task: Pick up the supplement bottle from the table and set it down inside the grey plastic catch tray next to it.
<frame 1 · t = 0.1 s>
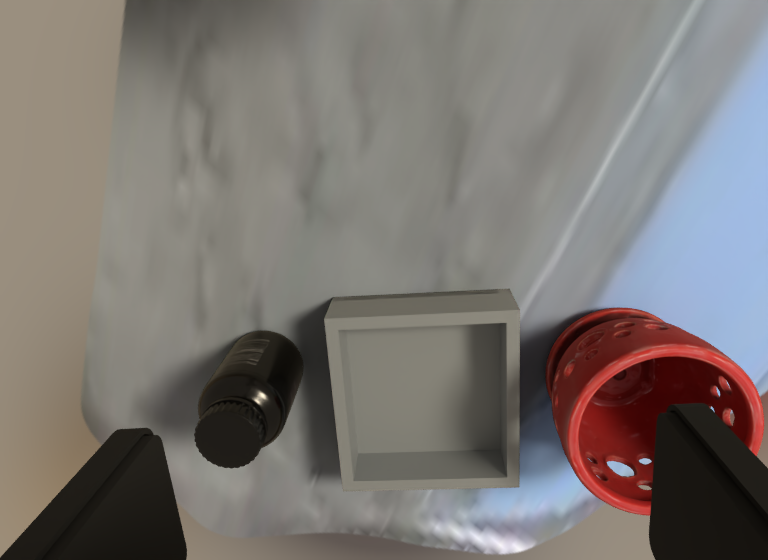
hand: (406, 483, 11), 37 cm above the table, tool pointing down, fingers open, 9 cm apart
plant pot: (607, 359, 49), on the table
catch tray: (424, 377, 51), on the table
supplement bottle: (268, 362, 51), on the table
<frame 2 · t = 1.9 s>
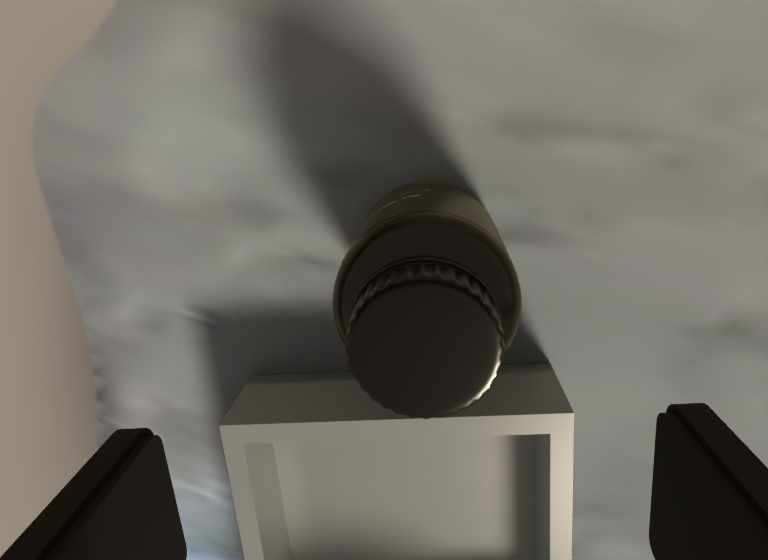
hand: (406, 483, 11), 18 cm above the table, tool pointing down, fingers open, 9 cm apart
catch tray: (406, 488, 32), on the table
supplement bottle: (426, 247, 28), on the table
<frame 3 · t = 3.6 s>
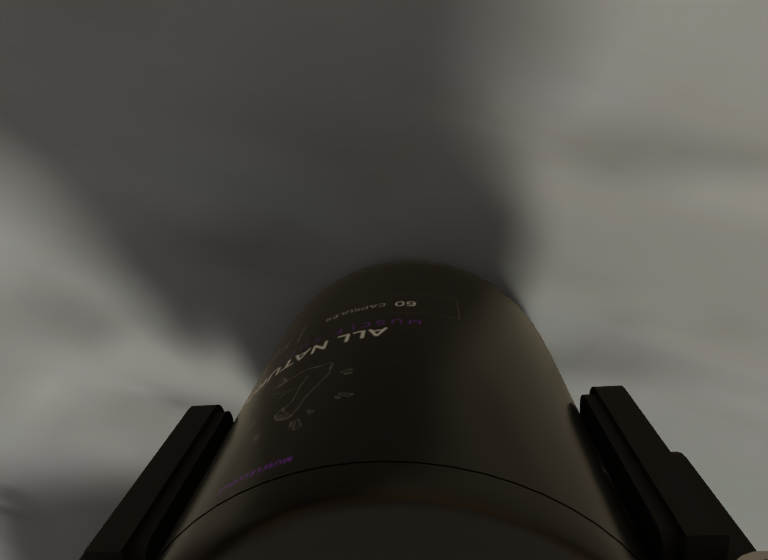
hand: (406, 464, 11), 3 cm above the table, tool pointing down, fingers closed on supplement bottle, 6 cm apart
supplement bottle: (409, 381, 15), on the table, touching gripper
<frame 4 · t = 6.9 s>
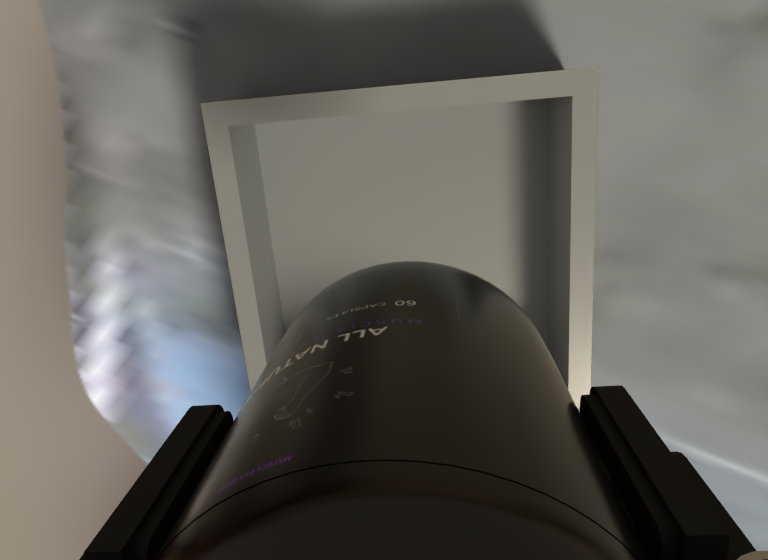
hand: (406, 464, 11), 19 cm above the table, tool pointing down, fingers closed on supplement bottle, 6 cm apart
catch tray: (408, 238, 30), on the table
supplement bottle: (409, 380, 15), point 16 cm above the table, touching gripper
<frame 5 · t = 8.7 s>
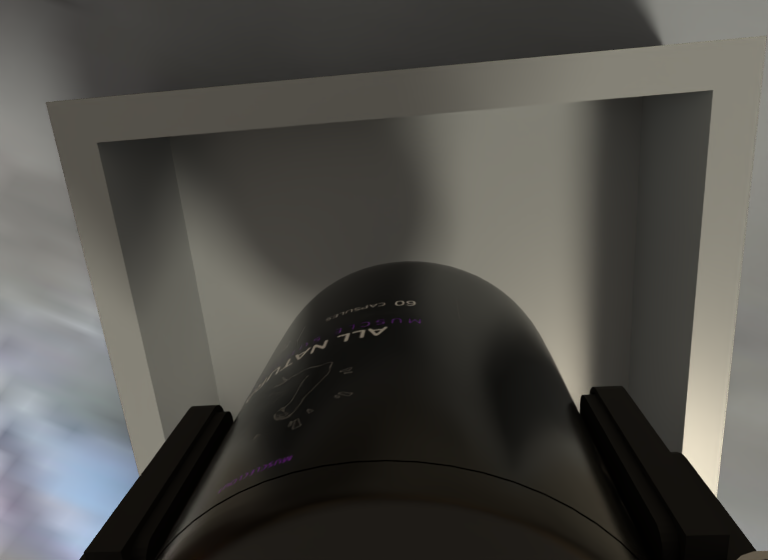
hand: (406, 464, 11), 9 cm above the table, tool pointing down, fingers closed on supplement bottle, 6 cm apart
catch tray: (413, 308, 20), on the table
supplement bottle: (409, 380, 15), point 5 cm above the table, touching gripper
when the fingers open (7 cm above the table, at t = 10.2 s): supplement bottle drops 2 cm, resting on catch tray.
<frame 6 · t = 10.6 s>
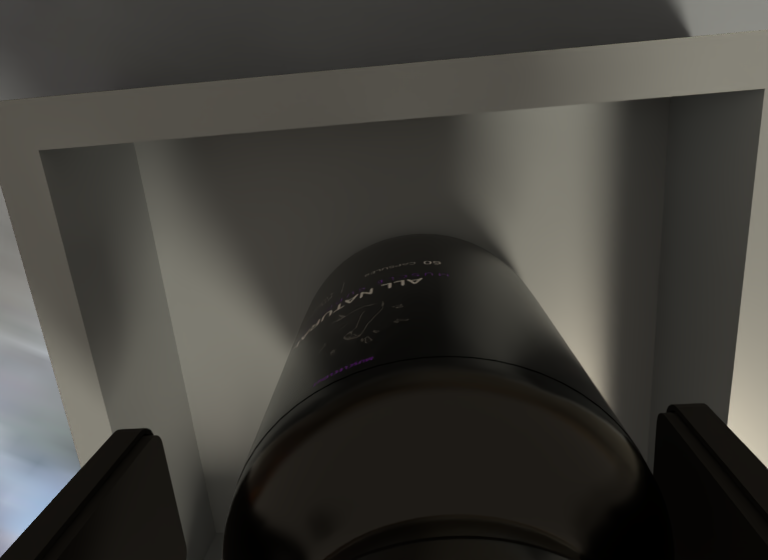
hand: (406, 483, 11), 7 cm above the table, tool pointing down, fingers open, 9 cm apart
catch tray: (410, 331, 18), on the table
supplement bottle: (418, 340, 17), point 1 cm above the table, touching catch tray
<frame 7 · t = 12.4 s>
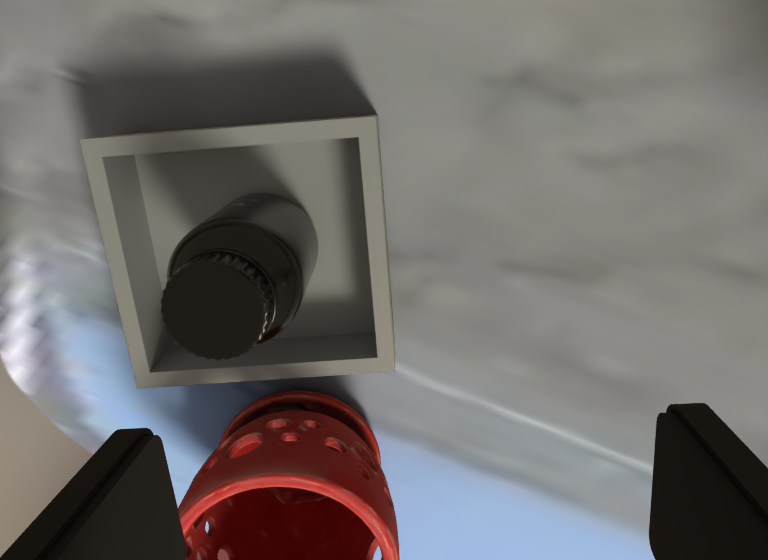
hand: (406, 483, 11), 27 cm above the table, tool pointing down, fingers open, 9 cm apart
plant pot: (308, 448, 42), on the table
catch tray: (265, 242, 37), on the table
supplement bottle: (266, 243, 36), point 1 cm above the table, touching catch tray
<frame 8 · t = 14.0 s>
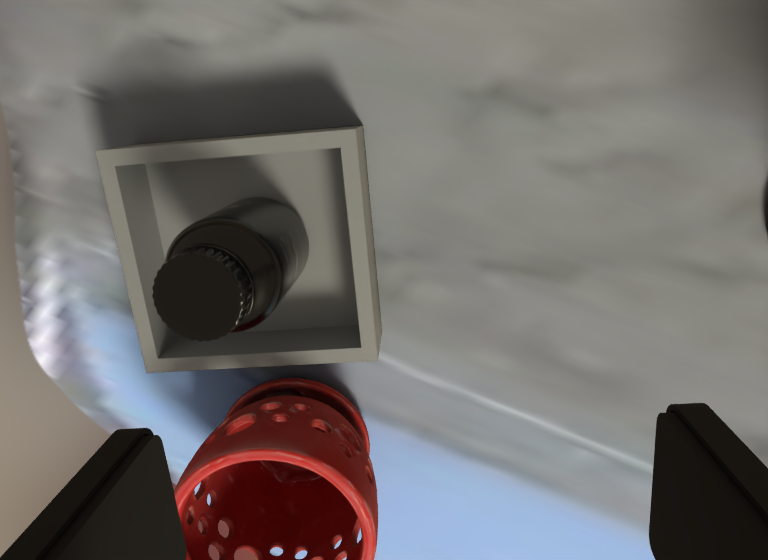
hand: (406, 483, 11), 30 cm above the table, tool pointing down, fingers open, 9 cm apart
plant pot: (304, 432, 46), on the table
catch tray: (262, 241, 41), on the table
supplement bottle: (263, 243, 40), point 1 cm above the table, touching catch tray
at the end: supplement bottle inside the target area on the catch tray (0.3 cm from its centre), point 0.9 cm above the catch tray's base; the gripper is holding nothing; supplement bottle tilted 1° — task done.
